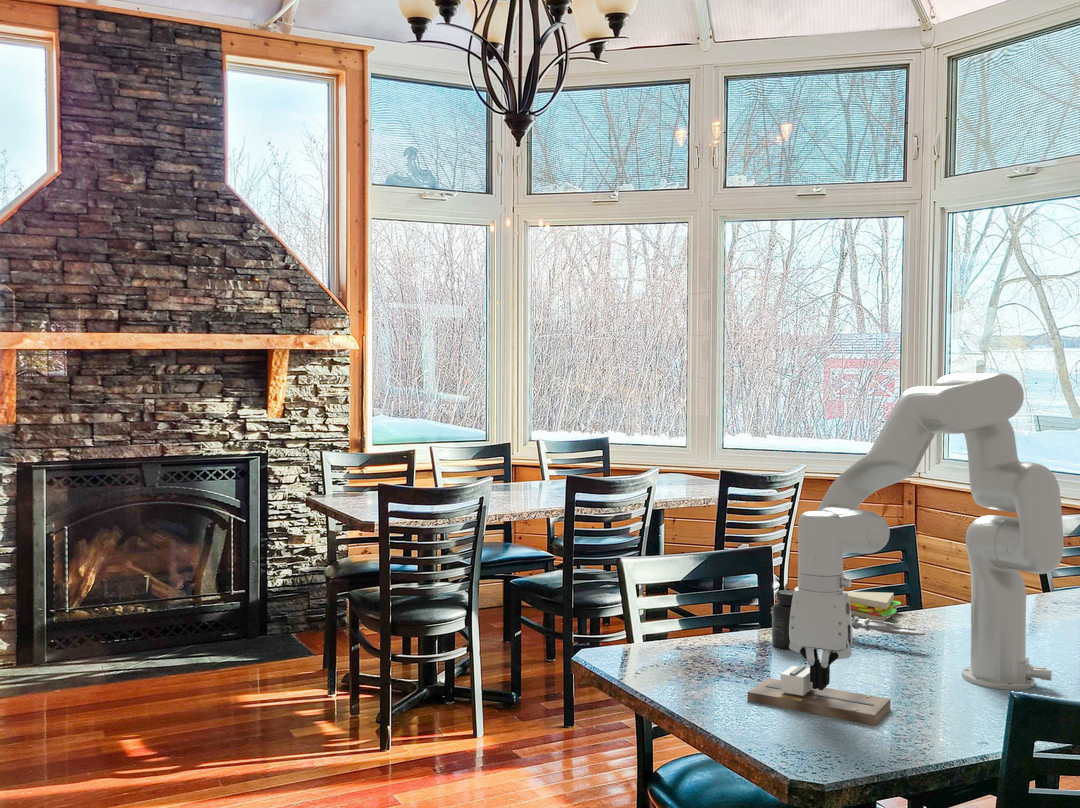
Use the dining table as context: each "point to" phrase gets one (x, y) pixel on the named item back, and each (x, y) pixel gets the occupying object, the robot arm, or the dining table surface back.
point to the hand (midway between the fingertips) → (819, 687)
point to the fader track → (823, 702)
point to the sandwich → (872, 605)
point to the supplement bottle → (781, 619)
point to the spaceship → (882, 626)
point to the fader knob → (796, 680)
